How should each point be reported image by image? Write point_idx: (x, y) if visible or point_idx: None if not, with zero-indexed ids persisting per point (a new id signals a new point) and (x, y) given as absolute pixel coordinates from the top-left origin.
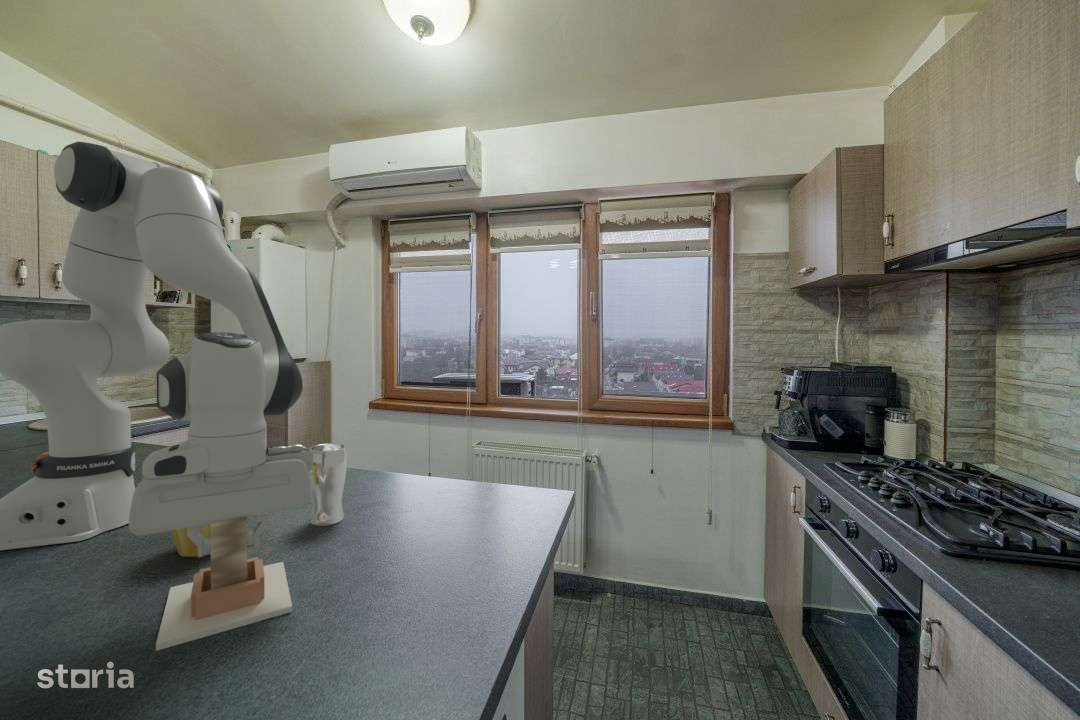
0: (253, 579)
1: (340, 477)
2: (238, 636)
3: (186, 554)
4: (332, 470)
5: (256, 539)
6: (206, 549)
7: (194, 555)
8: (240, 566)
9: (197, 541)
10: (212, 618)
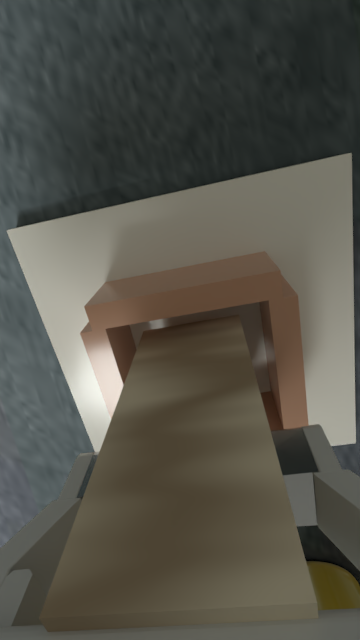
0: None
1: None
2: (133, 146)
3: (340, 572)
4: None
5: (78, 475)
6: (291, 450)
7: (322, 564)
8: (150, 371)
9: (354, 490)
10: (220, 243)
